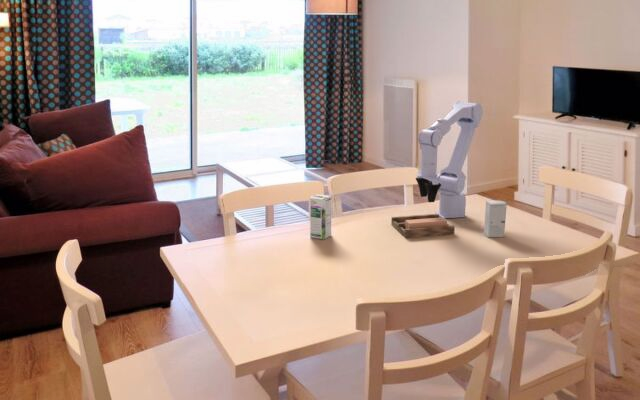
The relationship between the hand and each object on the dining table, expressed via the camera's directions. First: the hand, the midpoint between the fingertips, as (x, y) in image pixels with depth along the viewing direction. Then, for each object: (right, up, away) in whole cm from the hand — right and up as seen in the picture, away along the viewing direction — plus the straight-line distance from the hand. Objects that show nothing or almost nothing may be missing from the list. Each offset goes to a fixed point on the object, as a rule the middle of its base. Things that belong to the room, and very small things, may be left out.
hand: (427, 199), depth 239 cm
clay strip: (-2, -11, -8) cm, 13 cm away
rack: (-3, -11, -4) cm, 12 cm away
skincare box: (+21, -13, -11) cm, 27 cm away
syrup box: (-39, -13, -10) cm, 42 cm away
